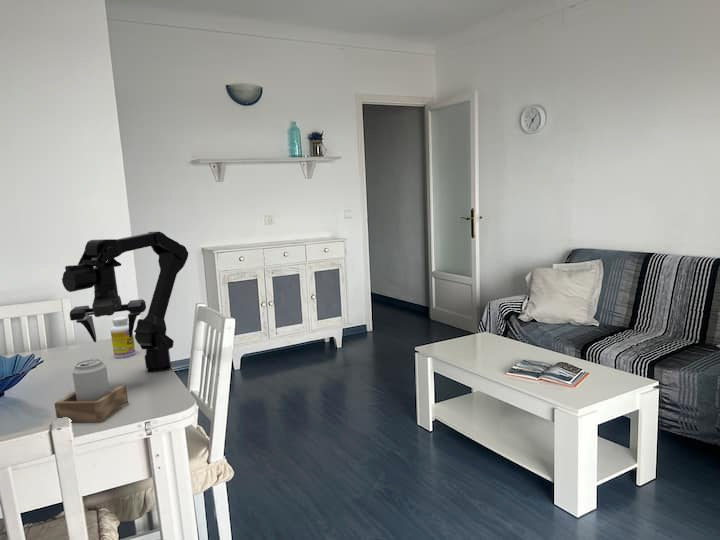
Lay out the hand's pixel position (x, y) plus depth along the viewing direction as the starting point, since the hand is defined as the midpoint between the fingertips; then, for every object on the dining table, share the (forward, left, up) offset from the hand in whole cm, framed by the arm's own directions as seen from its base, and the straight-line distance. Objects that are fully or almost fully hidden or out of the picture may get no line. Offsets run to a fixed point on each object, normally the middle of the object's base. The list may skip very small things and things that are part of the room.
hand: (113, 339), depth 153 cm
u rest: (+3, +20, -13) cm, 24 cm away
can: (+2, +19, -12) cm, 23 cm away
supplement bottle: (+3, -31, -13) cm, 34 cm away
